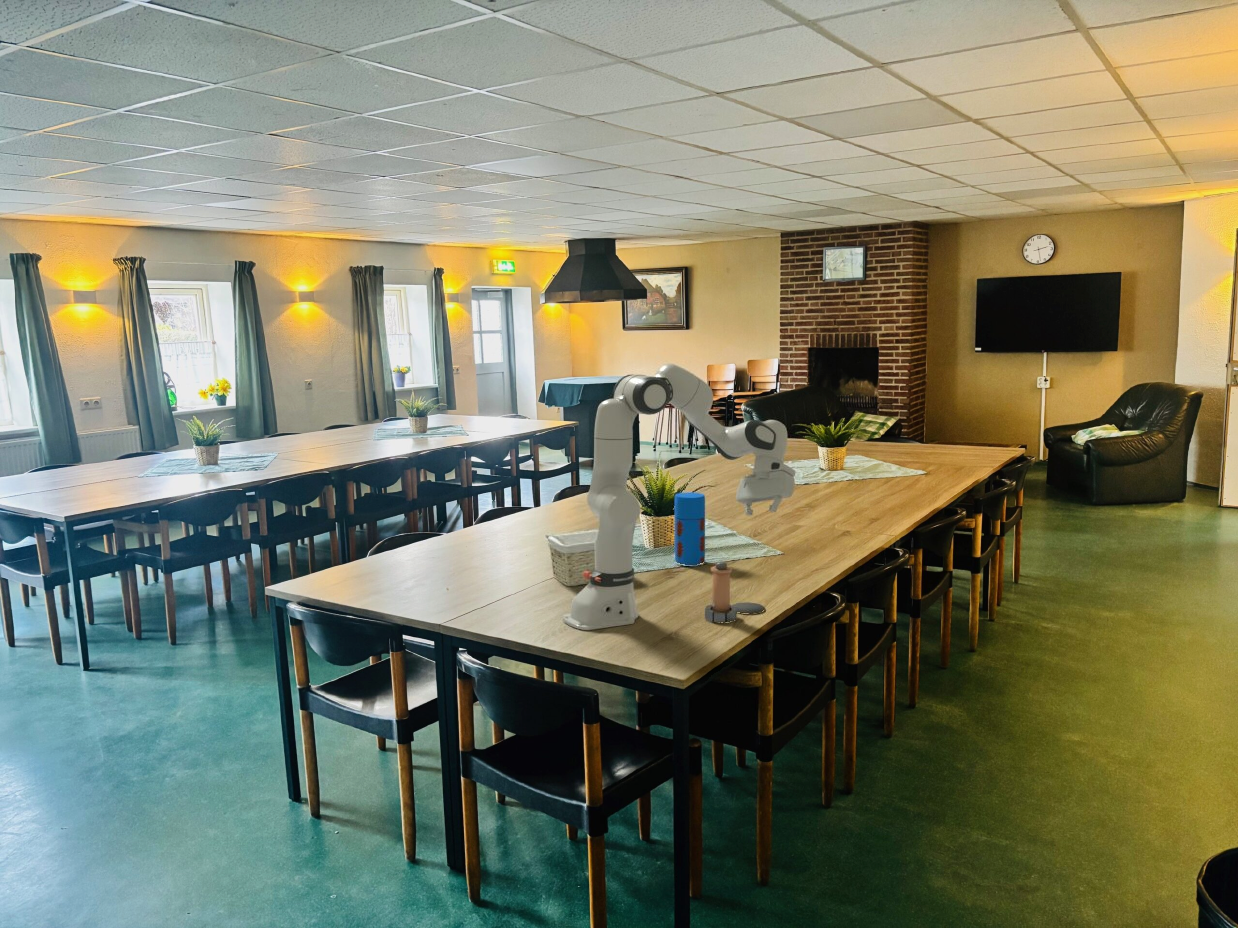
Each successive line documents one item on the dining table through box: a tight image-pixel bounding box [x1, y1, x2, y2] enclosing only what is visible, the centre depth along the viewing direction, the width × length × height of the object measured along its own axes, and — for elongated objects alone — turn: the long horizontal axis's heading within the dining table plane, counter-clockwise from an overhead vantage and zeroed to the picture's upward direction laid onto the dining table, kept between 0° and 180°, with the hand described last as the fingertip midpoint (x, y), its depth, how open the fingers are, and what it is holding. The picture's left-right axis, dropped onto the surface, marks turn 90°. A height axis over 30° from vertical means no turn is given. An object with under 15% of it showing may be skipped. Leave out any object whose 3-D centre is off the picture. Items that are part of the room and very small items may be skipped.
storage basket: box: [547, 529, 598, 587], centre depth 299 cm, size 24×16×15 cm
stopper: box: [710, 561, 733, 612], centre depth 254 cm, size 6×6×17 cm
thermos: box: [674, 492, 706, 565], centre depth 316 cm, size 11×11×25 cm
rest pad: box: [731, 602, 766, 614], centre depth 264 cm, size 10×10×1 cm
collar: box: [704, 604, 738, 624], centre depth 255 cm, size 9×9×3 cm
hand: (760, 513), depth 265 cm, fingers open, 8 cm apart
